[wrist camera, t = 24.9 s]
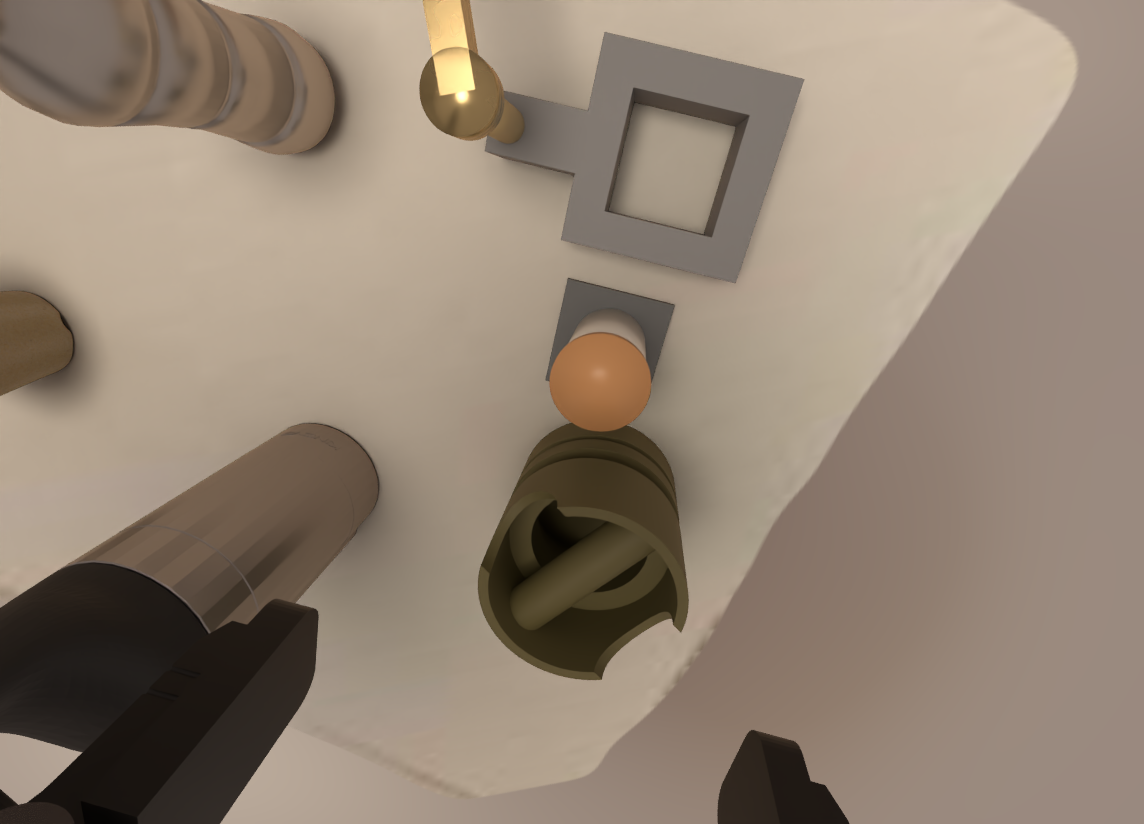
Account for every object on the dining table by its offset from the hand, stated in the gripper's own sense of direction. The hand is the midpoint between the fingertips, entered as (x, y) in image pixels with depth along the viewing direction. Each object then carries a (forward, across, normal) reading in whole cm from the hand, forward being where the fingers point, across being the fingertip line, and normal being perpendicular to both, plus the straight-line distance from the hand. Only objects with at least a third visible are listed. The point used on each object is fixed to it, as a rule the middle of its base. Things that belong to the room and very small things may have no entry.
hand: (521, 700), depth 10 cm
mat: (+28, 0, 0) cm, 28 cm away
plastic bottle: (+28, +22, -10) cm, 37 cm away
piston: (+28, -2, +11) cm, 31 cm away
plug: (+28, 0, 0) cm, 28 cm away
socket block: (+28, +2, -11) cm, 30 cm away
